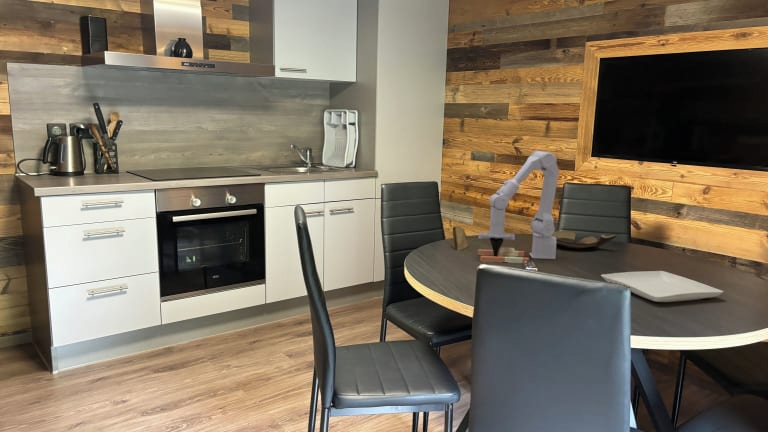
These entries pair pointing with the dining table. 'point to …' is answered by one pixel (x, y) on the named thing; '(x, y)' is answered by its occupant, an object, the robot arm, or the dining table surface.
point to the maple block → (506, 252)
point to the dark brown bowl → (569, 238)
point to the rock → (459, 238)
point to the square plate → (662, 286)
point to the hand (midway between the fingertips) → (495, 256)
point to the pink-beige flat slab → (502, 259)
